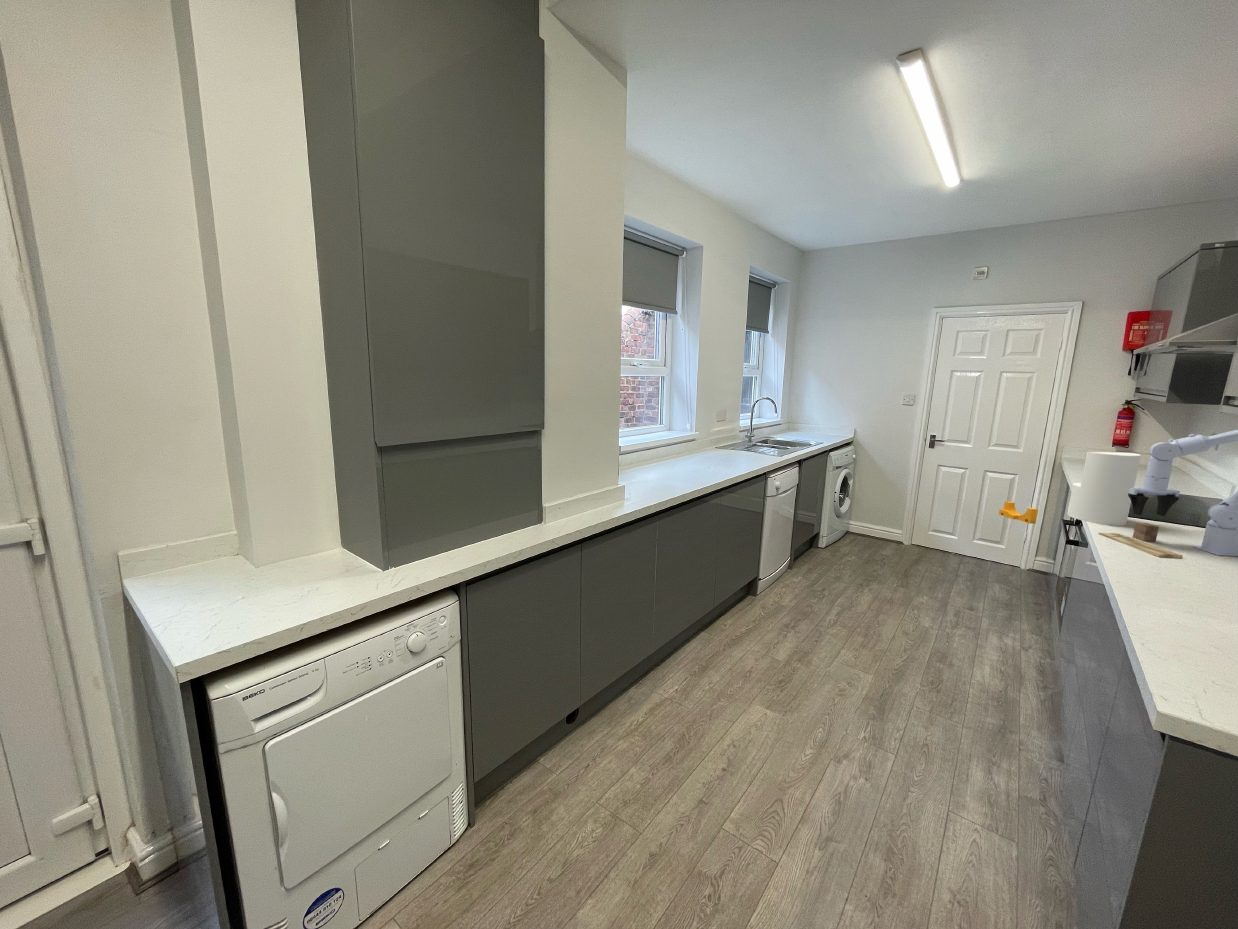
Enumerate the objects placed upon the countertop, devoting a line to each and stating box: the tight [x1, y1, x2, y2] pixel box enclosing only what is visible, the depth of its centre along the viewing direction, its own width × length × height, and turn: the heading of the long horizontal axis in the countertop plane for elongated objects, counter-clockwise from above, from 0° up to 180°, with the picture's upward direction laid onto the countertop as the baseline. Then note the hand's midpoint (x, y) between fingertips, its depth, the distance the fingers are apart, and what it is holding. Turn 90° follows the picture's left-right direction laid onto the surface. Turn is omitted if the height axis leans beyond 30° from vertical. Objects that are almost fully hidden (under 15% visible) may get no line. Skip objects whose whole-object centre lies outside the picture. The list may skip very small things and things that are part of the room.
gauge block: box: [1132, 522, 1160, 543], centre depth 173 cm, size 4×4×6 cm
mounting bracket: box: [998, 501, 1039, 525], centre depth 195 cm, size 12×4×6 cm, turn 6°
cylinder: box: [1066, 451, 1142, 526], centre depth 195 cm, size 17×17×28 cm
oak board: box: [1098, 532, 1184, 559], centre depth 167 cm, size 7×22×1 cm, turn 175°
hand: (1148, 514), depth 172 cm, fingers open, 7 cm apart
